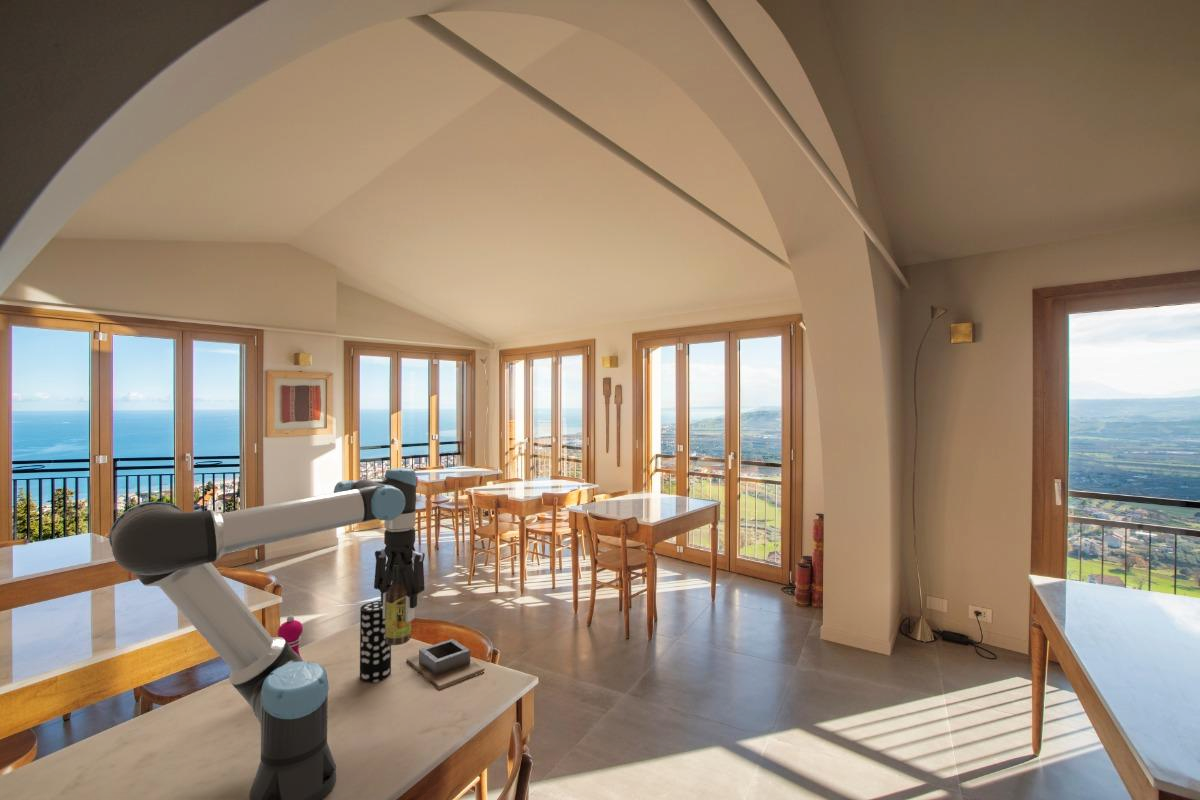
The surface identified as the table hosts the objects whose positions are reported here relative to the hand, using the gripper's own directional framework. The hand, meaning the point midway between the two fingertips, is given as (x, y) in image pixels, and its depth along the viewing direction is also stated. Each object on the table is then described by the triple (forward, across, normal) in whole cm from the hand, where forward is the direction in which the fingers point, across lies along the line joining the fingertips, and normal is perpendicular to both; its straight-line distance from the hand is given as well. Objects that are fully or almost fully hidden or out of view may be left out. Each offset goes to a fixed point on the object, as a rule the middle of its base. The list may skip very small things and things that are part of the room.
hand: (398, 618), depth 134 cm
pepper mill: (+24, +36, 0) cm, 43 cm away
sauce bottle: (+6, 0, 0) cm, 6 cm away
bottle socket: (+23, +2, -23) cm, 33 cm away
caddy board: (+23, +2, -23) cm, 33 cm away
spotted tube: (+24, +18, -13) cm, 32 cm away
